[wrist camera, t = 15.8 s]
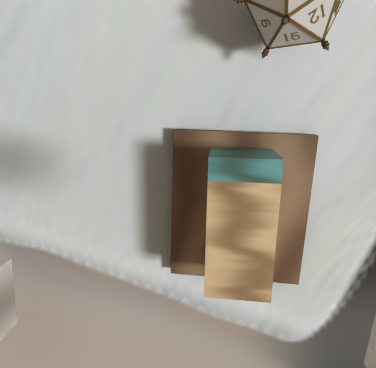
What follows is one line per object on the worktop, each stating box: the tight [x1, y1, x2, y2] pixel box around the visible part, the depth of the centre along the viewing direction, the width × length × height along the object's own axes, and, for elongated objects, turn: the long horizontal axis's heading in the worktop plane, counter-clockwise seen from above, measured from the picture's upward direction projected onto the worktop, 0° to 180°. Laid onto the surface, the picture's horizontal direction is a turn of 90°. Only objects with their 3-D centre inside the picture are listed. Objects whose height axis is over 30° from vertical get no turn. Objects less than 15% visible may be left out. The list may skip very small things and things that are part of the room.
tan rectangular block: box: [204, 147, 284, 303], centre depth 29 cm, size 6×6×13 cm
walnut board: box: [171, 129, 318, 284], centre depth 33 cm, size 14×16×1 cm
